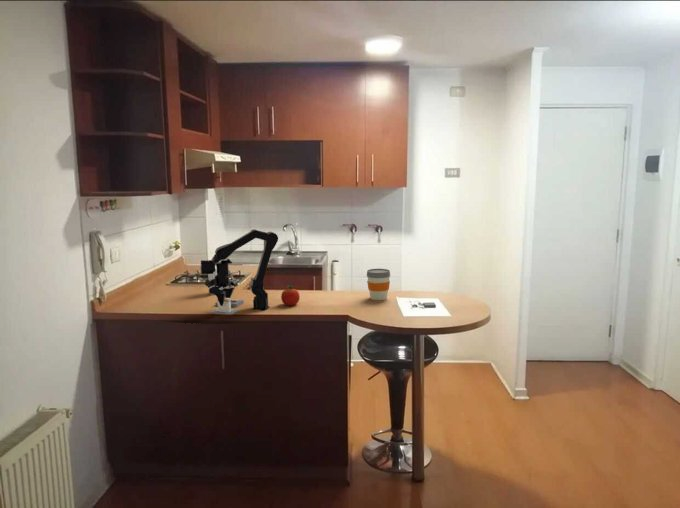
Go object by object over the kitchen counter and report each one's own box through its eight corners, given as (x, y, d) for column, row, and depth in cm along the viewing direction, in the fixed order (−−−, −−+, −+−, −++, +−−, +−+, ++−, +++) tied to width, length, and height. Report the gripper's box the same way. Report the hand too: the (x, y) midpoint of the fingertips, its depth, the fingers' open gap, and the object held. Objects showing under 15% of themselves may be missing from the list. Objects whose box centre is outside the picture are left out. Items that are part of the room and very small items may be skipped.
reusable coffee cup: (363, 299, 268) (362, 272, 265) (372, 294, 279) (372, 267, 276) (384, 302, 262) (384, 273, 260) (393, 296, 273) (393, 269, 271)
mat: (239, 310, 250) (239, 309, 250) (232, 315, 242) (232, 314, 242) (217, 309, 253) (217, 308, 253) (209, 313, 246) (209, 312, 245)
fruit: (283, 307, 254) (282, 288, 253) (280, 303, 263) (279, 284, 262) (301, 306, 257) (301, 287, 255) (298, 301, 266) (297, 283, 264)
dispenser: (243, 303, 264) (243, 299, 263) (236, 307, 256) (236, 303, 255) (223, 302, 267) (222, 298, 266) (215, 306, 259) (215, 301, 259)
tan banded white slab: (231, 310, 248) (230, 298, 247) (229, 312, 246) (228, 299, 245) (220, 310, 249) (219, 297, 248) (218, 311, 248) (217, 298, 246)
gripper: (217, 268, 256) (218, 298, 258) (197, 276, 238) (200, 308, 240) (237, 269, 253) (238, 299, 255) (219, 277, 235) (221, 309, 237)
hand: (224, 304), depth 247 cm, fingers open, 6 cm apart
